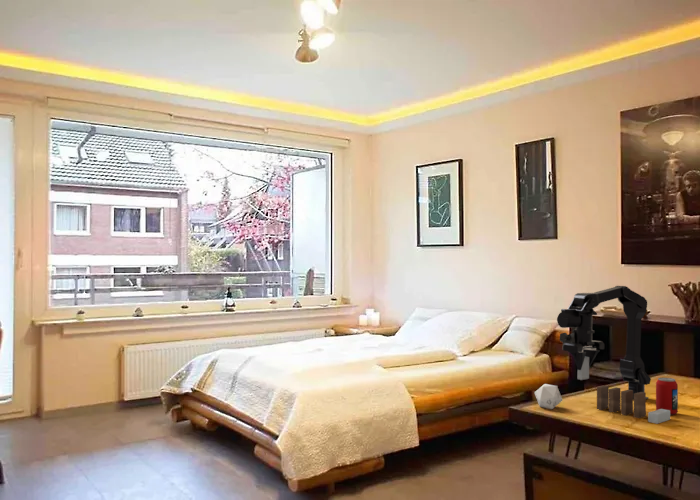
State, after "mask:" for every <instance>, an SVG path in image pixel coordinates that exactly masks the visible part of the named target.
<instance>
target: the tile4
mask: <svg viewBox="0 0 700 500" xmlns="http://www.w3.org/2000/svg"><path fill="white" fill-rule="evenodd" d="M646 397H647V396H646V392H638V393H634V399H633V418H636V419H640V418H644V417H646V416H647V414H646V409H647V407H646V405H647V403H646V402H647V399H646Z"/></svg>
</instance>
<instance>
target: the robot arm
mask: <svg viewBox="0 0 700 500" xmlns="http://www.w3.org/2000/svg"><path fill="white" fill-rule="evenodd" d="M616 299H617V300H618V302H619V303H621V304H622V309H623V313H624V314H625V315H624V316H626V319H627V321H626V322H627V323H626V344H625V345H626V346H625V348H626V349H625V350H626V351H625V355H624V357H623V359H622V358H620V359H619V368H618V370H619V371H620V375H621V376H622V381H623V382H628V385H627V386H628V387H627V388H628V389H627V390H633V400H634V393H638V392H645V389H646V388H645V386H647V385H650V383H651V380H652V378H651V377H650V376H649V374H648V373H647V372H646V369H645V363H644V361H643V359H642V357H641V347H642V346H641V345H642V344H641V339H642V320H643V318H644V316H645V315H646V313H647V309H648V300H647V299H646V298H645V297H644V296H642V295H641V294H639V293H637V292H636V291H634V290H632V289H631V288H629V287H628V286H626V285H615V286H613V287H609V288H605V289H603V290H599V291H595V292H577V293H575V294H574V297H573V299H572V300H571V302H570V304H569V306H568V307H567V308H562V309H561V311H560V312H559V314H558V315H557V318H556V321H557V325H558V326H559V327H560V328H562V329H564V328H565V329H566V328H567V329H569V328H575V329H573V330H572V333H567V332H562V333H560V334H559V341H560V342H561V343H562V351H565V352H568V353H570V354H571V355H572V357H573V358H574V359H573V360H574V362H575V365H576V368H577V371H578V370H581V368H582V365H583V362H584V358H585V356H586V357H589V369H590V367H591V366H592V364H593V363H594V360H595V358H596V356H597V355H598V353H599V352H600V350H605V343H604V342H603V341H602V340H593V334H596V333H595V332H596V331H595V330H593V316H597V315H598V312H596V311H595V310H594V309H595V308H596V307H598V306H599V305H600V304H601V303H605V302H608V301H612V300H616ZM645 393H646V392H645ZM648 399H649V396H646V400H648Z"/></svg>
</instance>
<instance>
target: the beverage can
mask: <svg viewBox="0 0 700 500" xmlns="http://www.w3.org/2000/svg"><path fill="white" fill-rule="evenodd" d="M678 387H679V386H678V383H677V381H676V379H675V378H672V377H658V378H657V380H656V382H655V410H659V409H665V410H670V416H674V415H676V414H678V413H679V410H678V409H679V407H678V406H679V405H678V404H679V396H678V395H679V394H678V393H679V392H678V391H679V389H678Z"/></svg>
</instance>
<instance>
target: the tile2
mask: <svg viewBox="0 0 700 500" xmlns="http://www.w3.org/2000/svg"><path fill="white" fill-rule="evenodd" d="M617 411H618V412H621V387H616V386H615V387H612V388H609V408H608V412H609V413H611V412H614V413H618V412H617Z"/></svg>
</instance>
